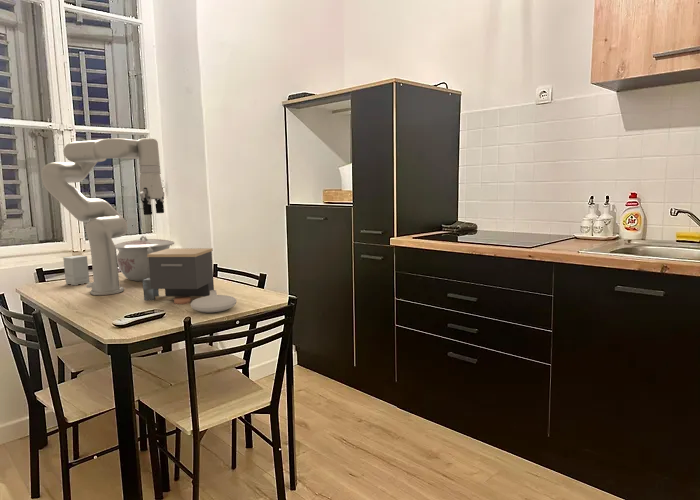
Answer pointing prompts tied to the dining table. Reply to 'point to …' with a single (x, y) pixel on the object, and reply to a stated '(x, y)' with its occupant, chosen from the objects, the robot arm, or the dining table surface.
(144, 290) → the grey block with handle
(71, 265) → the supplement box
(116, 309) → the dining table surface
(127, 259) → the chamber pot
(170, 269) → the cabinet
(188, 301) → the coaster
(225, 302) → the grey domed lid
